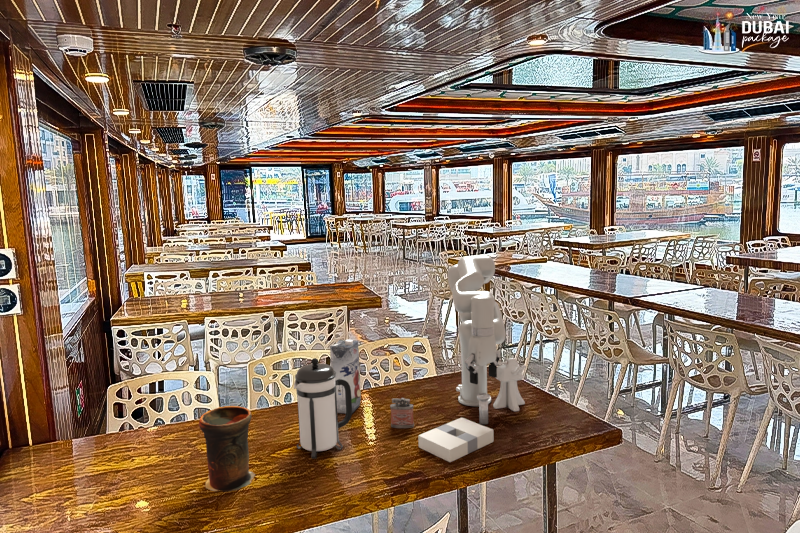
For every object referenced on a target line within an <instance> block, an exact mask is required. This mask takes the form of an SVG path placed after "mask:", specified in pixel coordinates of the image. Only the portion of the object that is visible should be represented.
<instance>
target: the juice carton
mask: <svg viewBox="0 0 800 533" xmlns="http://www.w3.org/2000/svg"><path fill="white" fill-rule="evenodd" d="M329 349H330V350H329V352H330V354H329V355H330V356H329V357H330V366H331V367H332V368H333V369H334V371H335V372H336V377H335V381H336V380H338V379H342V380H345V381H347V382H348V383H349V385H350V388H351V399H352V414H354V412H355V411H356V410H357V409H358V408H359V407H360V406H361V400H362V396H361V394H362V393H361V392H362V391H361V375H360V374H361V372H360V353H359V352H360V351H359V341H358V340H353V339H344V340H343V339H342V340H341V339H339V340H338V341H337V342H336V343H334V344H332V345H330V346H329ZM336 397H337V414H346V399H345V388H344V386H343V385H336Z"/></svg>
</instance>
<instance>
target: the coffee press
mask: <svg viewBox="0 0 800 533" xmlns="http://www.w3.org/2000/svg"><path fill="white" fill-rule="evenodd" d="M310 362H311V363H309V364H306V365H303V366H301V367H300V368H298V370H297V371H296V374H295V375H294V383H293V389H294V390H295V389H296V396H297V397H296V398H297V399H296V400H297V415H298V430H299V432H298V433H299V440H298V442H297V443H298V444H296V449H298V450H300V449H302V448H303V449H305V450H307V451H309V452H311V455H310V456H311V459H312V460H313V459H314V460H315V459H317V458H318V453H319V452H323V451H327V450H330V449H332V448H334V447H335V448H336V449H337V450H338V451H341V450H342V449H343V448H344V447H343V444H342V442H341V441H340V439H339V438H340V437H339V429H340V428H343V427H345V426H346V425H347V424H348V423H349V422H350V420H351V419H352V415H353V413H352V399H351V388H350V385H349V383H348V382H347V381H345V380H342V379H338V380H336V381H335V377H336V372H335V371H334V369H333V368H332V367H331V364H327V363H319V360H318V358H317V357H316V358H315V357H314V358H312V359H311V361H310ZM336 385H343V386H344V388H345V399H346V413H345V416H344V418H343V419H342V420H340V421H338V420H339V419H338V418H339V417H338V413H337V397H336ZM299 444H300V445H301V446H299ZM337 444H338V445H339V446H338V445H337Z"/></svg>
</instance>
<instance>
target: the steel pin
mask: <svg viewBox="0 0 800 533" xmlns="http://www.w3.org/2000/svg"><path fill="white" fill-rule="evenodd" d="M490 397H491V395H490V393H488V392H487V393H479V394H477V399H479V406H478V407H479V408H478V410H479V416H478V419H479V423H478V424H480V425H488V424H489V404H488V400H489V399H490Z"/></svg>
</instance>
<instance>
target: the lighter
mask: <svg viewBox="0 0 800 533" xmlns="http://www.w3.org/2000/svg"><path fill="white" fill-rule="evenodd" d="M410 402H411V400H410V398H405V397H401V398H391V403H392V404H390V405H389V407H390V421H391V423H390V427H391V428H395V429H409V428H411V429H412V428H414V427H415V422H414V404H411V403H410Z"/></svg>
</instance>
